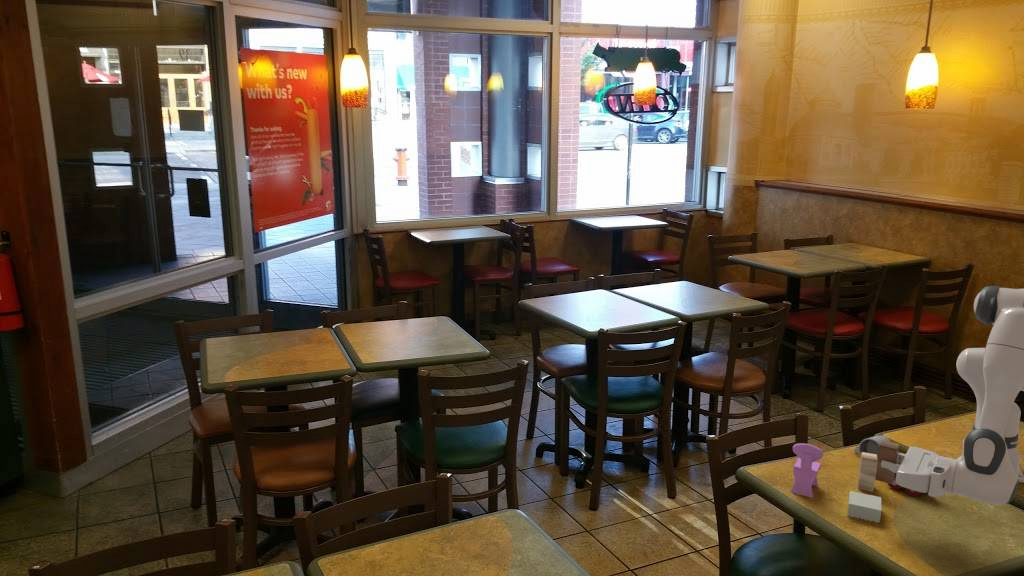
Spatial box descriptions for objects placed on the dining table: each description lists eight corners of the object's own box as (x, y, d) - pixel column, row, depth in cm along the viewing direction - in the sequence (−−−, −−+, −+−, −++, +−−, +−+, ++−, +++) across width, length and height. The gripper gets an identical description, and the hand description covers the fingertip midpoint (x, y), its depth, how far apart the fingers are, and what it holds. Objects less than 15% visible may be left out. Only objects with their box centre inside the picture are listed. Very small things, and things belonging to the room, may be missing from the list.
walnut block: (878, 474, 209) (882, 440, 207) (894, 478, 207) (899, 444, 205) (875, 479, 206) (879, 445, 204) (891, 484, 204) (896, 449, 202)
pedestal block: (848, 503, 217) (849, 490, 216) (879, 510, 214) (881, 497, 213) (847, 516, 210) (848, 503, 209) (879, 524, 207) (881, 510, 206)
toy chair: (822, 486, 226) (827, 438, 223) (816, 498, 219) (822, 449, 215) (792, 479, 230) (797, 432, 227) (786, 491, 223) (791, 443, 220)
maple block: (857, 483, 229) (861, 452, 226) (872, 485, 227) (876, 454, 225) (858, 489, 225) (862, 457, 223) (873, 491, 224) (877, 460, 221)
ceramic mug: (893, 460, 245) (896, 437, 243) (880, 466, 240) (882, 443, 238) (861, 448, 253) (864, 426, 251) (848, 454, 248) (850, 432, 246)
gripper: (949, 448, 206) (892, 435, 213) (938, 477, 189) (877, 461, 197) (945, 470, 207) (889, 456, 215) (934, 500, 191) (874, 484, 199)
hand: (883, 459), depth 206 cm, fingers closed on walnut block, 4 cm apart
